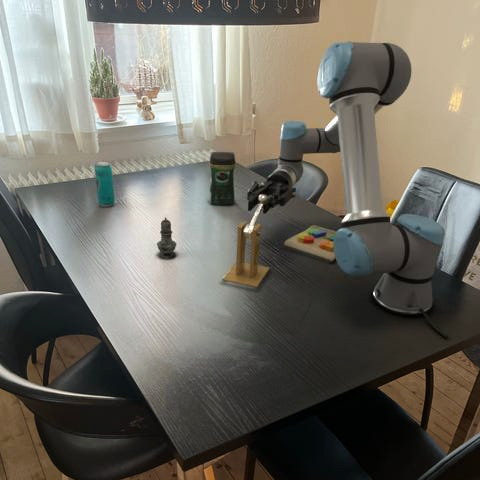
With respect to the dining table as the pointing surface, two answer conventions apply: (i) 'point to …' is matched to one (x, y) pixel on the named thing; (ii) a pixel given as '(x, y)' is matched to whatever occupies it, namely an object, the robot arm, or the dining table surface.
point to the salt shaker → (166, 241)
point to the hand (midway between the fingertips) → (256, 207)
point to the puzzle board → (314, 242)
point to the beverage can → (104, 183)
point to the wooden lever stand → (244, 271)
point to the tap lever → (255, 216)
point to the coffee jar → (222, 178)
